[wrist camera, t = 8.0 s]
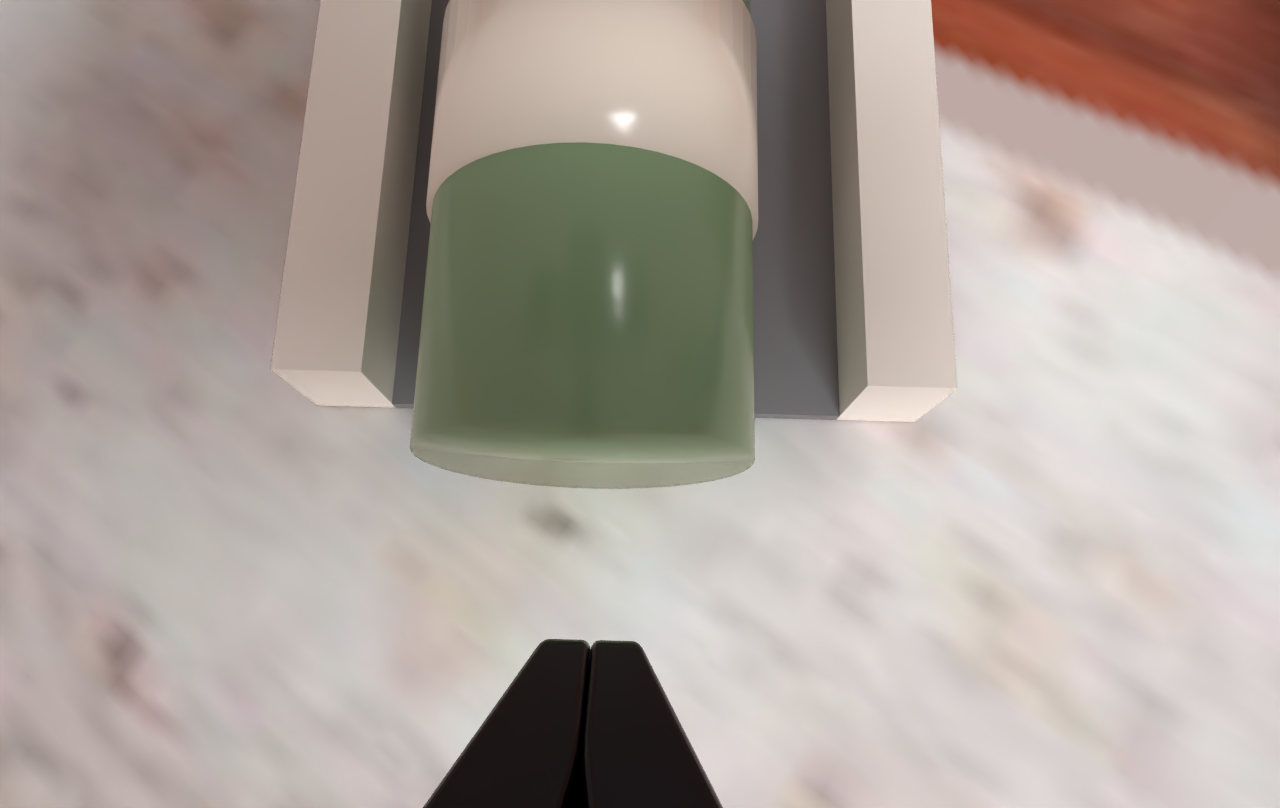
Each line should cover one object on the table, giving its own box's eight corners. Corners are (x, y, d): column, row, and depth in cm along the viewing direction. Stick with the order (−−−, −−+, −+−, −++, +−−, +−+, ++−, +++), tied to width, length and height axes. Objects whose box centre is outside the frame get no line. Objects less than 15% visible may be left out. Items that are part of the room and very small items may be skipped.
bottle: (608, 394, 11) (641, -566, 15) (327, 447, 14) (419, -351, 19) (823, 471, 15) (801, -292, 20) (570, 497, 19) (599, -158, 23)
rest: (913, 422, 19) (957, 388, 16) (316, 404, 18) (270, 368, 16) (889, -31, 21) (923, -117, 19) (371, -47, 21) (339, -136, 19)
